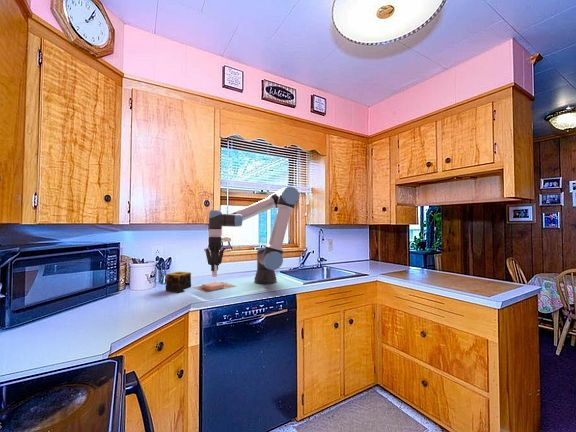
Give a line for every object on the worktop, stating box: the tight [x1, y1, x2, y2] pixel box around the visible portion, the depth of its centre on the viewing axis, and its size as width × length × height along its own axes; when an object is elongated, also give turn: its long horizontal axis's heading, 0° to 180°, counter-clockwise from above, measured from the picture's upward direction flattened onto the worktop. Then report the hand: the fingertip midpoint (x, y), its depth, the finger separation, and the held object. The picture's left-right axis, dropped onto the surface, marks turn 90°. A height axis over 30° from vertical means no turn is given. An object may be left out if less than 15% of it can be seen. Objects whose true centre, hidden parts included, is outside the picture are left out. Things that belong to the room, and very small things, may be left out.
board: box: [191, 281, 237, 294], centre depth 158 cm, size 21×16×1 cm
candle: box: [165, 271, 192, 294], centre depth 154 cm, size 10×10×10 cm
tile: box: [201, 281, 224, 292], centre depth 155 cm, size 2×9×9 cm
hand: (214, 276), depth 155 cm, fingers closed
